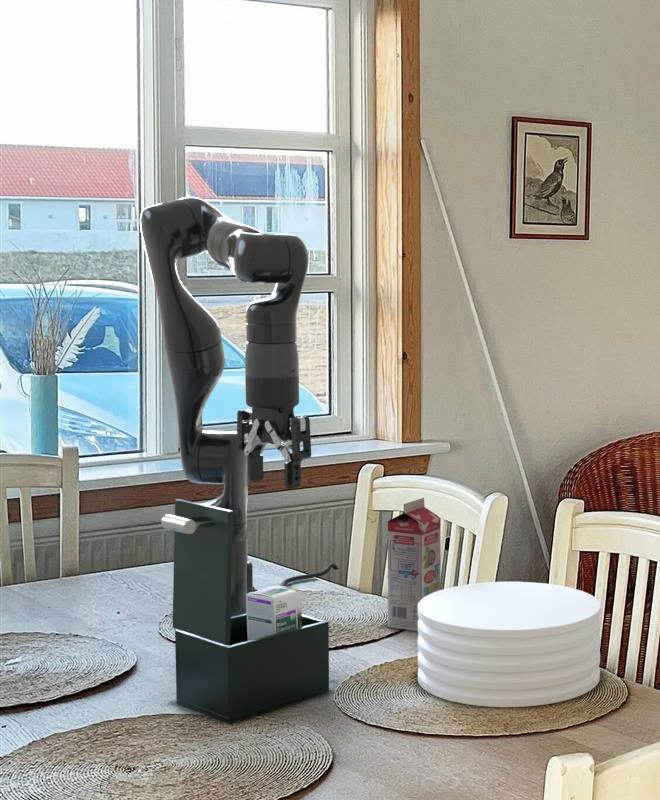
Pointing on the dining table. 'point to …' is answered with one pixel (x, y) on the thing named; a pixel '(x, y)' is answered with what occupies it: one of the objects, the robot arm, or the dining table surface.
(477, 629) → the plate stack
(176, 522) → the bin lid
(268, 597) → the syrup box
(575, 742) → the dining table surface
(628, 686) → the dining table surface
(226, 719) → the bin
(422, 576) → the juice carton
